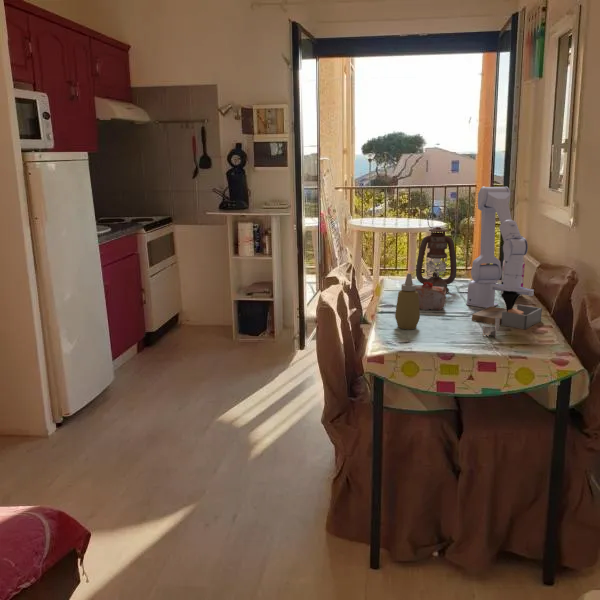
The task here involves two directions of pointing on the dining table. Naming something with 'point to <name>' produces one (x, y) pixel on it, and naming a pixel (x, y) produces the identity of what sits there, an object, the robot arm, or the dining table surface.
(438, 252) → the lantern
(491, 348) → the dining table surface
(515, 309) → the tile terracotta
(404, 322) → the squeeze bottle
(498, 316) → the walnut plate
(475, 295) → the robot arm
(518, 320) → the box
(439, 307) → the food item
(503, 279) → the supplement can
